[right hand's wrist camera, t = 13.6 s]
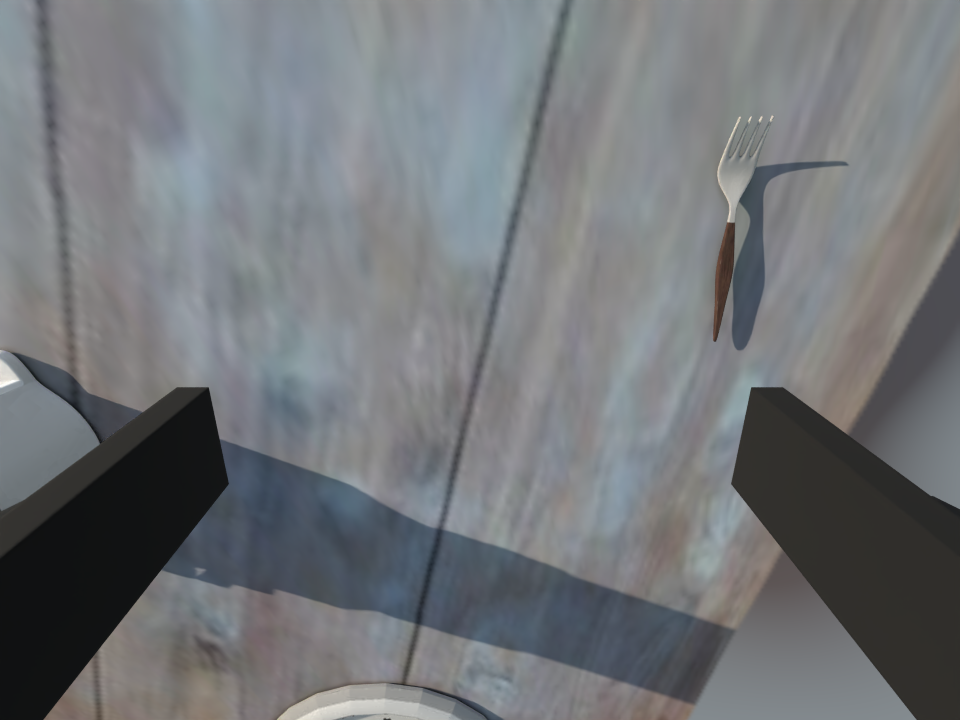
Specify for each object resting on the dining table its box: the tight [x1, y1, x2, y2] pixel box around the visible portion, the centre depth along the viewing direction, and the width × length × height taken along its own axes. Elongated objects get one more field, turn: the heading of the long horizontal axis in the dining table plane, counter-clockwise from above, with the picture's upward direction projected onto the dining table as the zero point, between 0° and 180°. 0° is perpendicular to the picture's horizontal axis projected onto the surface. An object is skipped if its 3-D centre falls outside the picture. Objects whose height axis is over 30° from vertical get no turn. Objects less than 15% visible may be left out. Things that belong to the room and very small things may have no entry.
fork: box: [713, 116, 774, 342], centre depth 37 cm, size 3×16×2 cm, turn 2°
